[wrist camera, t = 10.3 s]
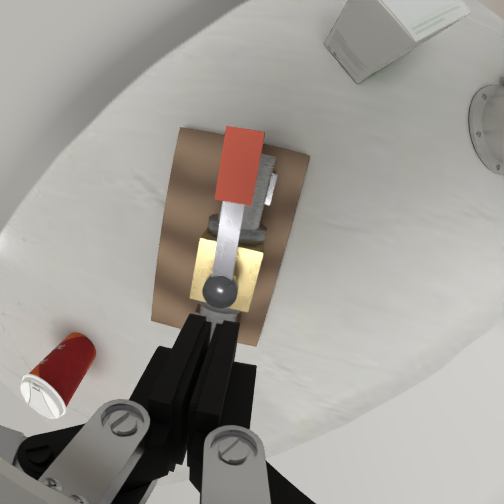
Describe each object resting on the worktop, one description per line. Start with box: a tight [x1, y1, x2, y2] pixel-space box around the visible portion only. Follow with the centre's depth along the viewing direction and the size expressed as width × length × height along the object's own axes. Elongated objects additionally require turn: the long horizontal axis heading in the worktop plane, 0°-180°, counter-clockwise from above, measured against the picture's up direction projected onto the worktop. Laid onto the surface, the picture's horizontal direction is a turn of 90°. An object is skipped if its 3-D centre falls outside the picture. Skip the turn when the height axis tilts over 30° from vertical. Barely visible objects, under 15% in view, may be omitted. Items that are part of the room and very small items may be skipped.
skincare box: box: [324, 0, 471, 84], centre depth 21 cm, size 8×7×16 cm
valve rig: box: [151, 127, 310, 347], centre depth 32 cm, size 24×14×11 cm, turn 167°
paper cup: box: [20, 333, 96, 419], centre depth 37 cm, size 8×8×14 cm
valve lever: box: [202, 126, 265, 309], centre depth 24 cm, size 14×3×3 cm, turn 170°
